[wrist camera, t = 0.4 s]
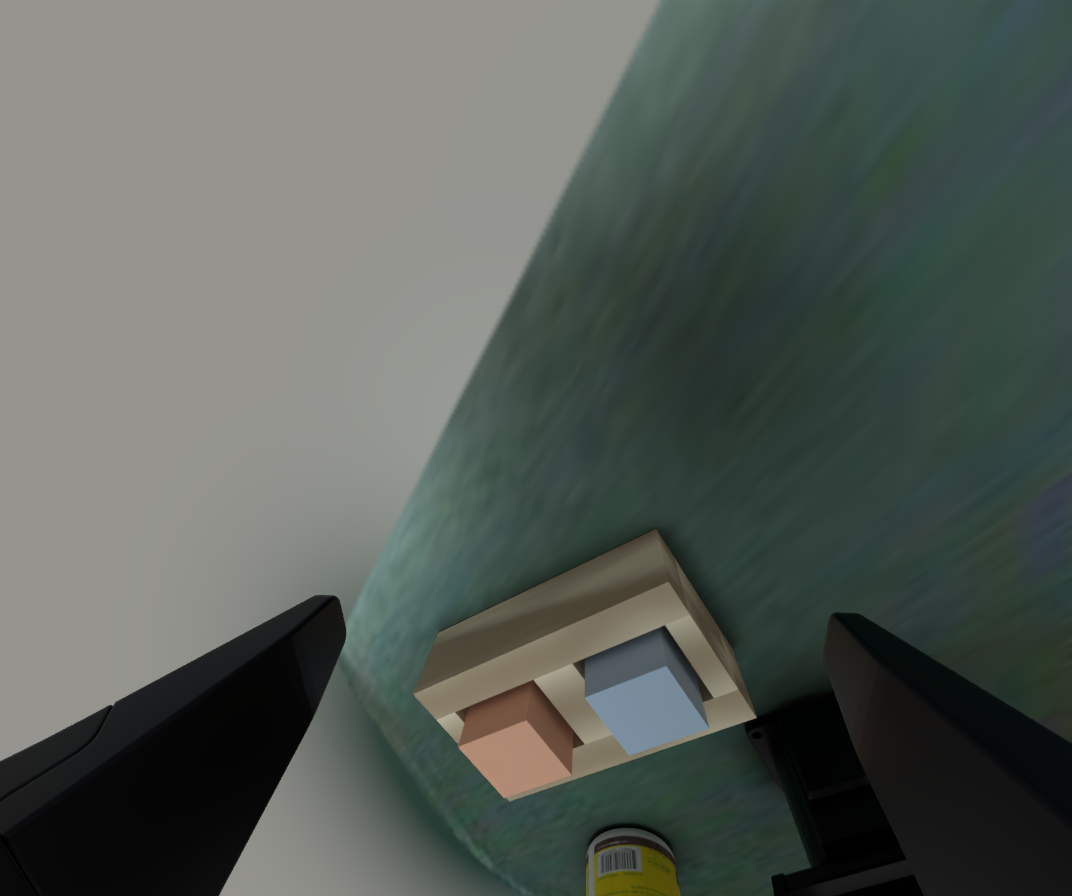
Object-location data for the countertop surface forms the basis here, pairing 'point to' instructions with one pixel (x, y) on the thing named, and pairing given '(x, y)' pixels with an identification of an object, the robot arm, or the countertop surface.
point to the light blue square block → (645, 692)
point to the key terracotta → (518, 740)
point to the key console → (584, 648)
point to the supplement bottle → (630, 865)
